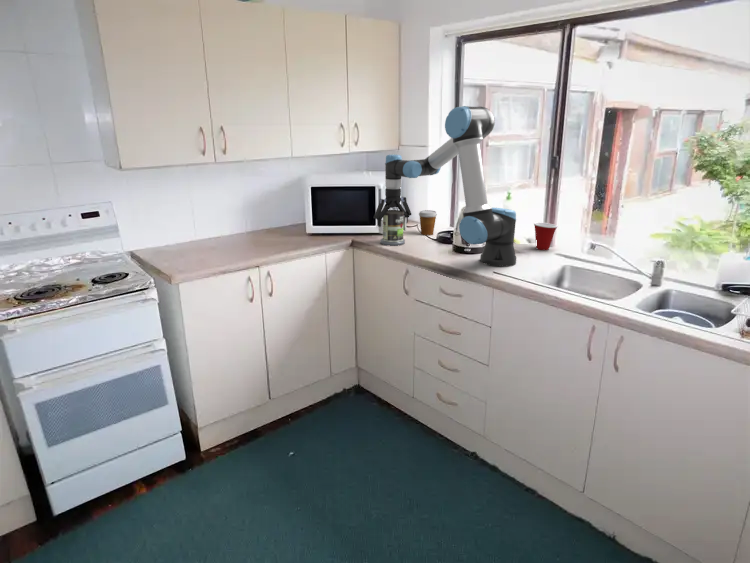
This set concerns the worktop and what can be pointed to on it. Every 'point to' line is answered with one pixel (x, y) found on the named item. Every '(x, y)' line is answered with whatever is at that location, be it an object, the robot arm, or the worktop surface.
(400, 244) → the coaster
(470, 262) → the worktop surface
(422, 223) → the disposable coffee cup
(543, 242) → the plastic cup
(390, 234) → the coffee can
